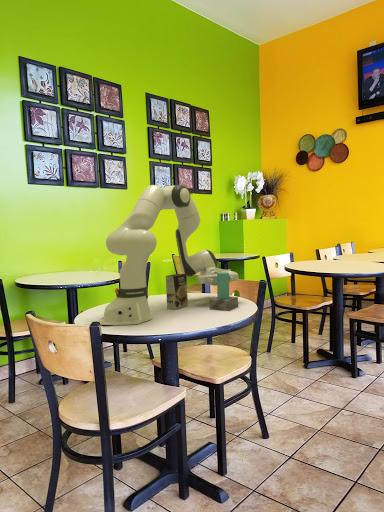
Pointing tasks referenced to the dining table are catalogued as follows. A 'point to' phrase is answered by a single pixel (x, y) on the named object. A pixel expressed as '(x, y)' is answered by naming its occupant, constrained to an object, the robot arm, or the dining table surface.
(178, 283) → the coffee box
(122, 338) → the dining table surface
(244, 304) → the dining table surface
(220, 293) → the teal pillar
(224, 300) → the charcoal block
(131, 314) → the robot arm
